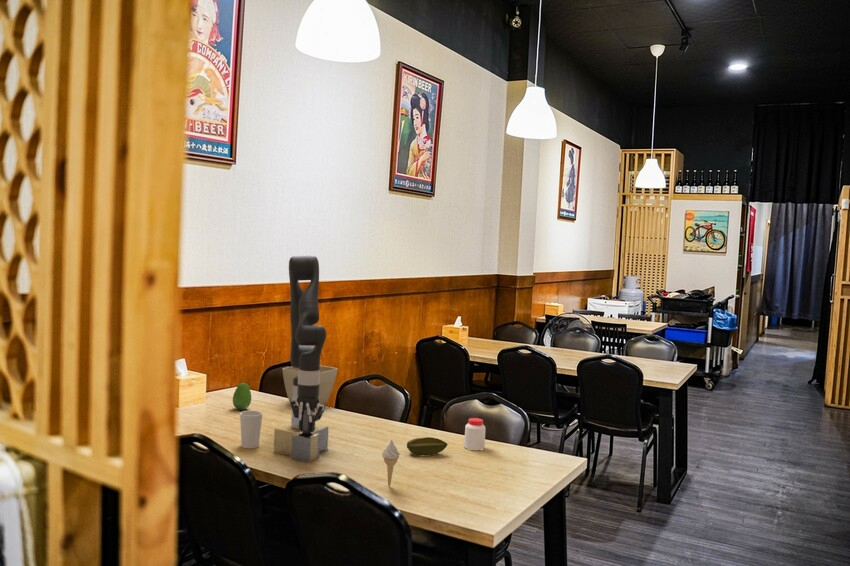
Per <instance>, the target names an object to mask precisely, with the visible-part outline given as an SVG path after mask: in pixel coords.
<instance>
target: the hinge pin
mask: <svg viewBox="0 0 850 566" xmlns="http://www.w3.org/2000/svg"><path fill="white" fill-rule="evenodd" d="M311 413H312V412H311ZM308 428H309V416H308V413H307V410H305V409H303V424H302V431H301V432H302V436H306V437H309V436H311V433H309V432H308Z"/></svg>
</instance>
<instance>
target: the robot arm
mask: <svg viewBox="0 0 850 566" xmlns="http://www.w3.org/2000/svg"><path fill="white" fill-rule="evenodd" d="M319 263H320V262H319V259H318V258H317V256H315V255H295V256H294V255H293V256H291V257H290V258H289V261H288V277H289V289H290V307H289V308H290V311H289V313H290V315H289V316H290V331H291V333H290V334H291V335H290V357H289V358H290V364H291V366H292V367H294V368H299V373H298V376H296V377H295V378H294V379H293V396H292V401H291V402H289V404H290V407H291V422H290V424H291V426H290V427H291V428H292V429H297V430H299V431H300V432H302V424H303V409H305V410H307V413H308V416H309V428H308V432H309V433H312V432H313V431H316V429H315V428H316V422H318V421H320V420H321V419H322V416H323V414H324V412H325V410H326V407H327V406H326V404H323V405H321V404H320V403H319V400H318V397H319V386H320V370H319V369H320V366H321V363H320V362H321V356H322V355H321V354H322V351H323V349H324V348H323V347H324V345H325V342H326V338H327V330H326V328H325V327H324V326H323V325H319V324H317V323H319V321H320V307H319V289H320V288H319V286H320V264H319ZM299 281H300V282H301V281H310V282H309V285H308V286H307V288H306V290H305V291H304V290H303V288H302V287H301V285H300V282H299ZM316 324H317V325H316ZM311 412H312V413H311Z"/></svg>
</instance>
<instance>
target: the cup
mask: <svg viewBox="0 0 850 566" xmlns="http://www.w3.org/2000/svg"><path fill="white" fill-rule="evenodd" d="M239 418H240V419H239V420H240V437H241V439H240V441H241V442H240V446H241V447H242V448H243V449H244V448H245V449H256V448H259V446H260V438H261V429H262V420H263V411H259V410H243V411H241V412H240V413H239Z"/></svg>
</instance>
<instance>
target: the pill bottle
mask: <svg viewBox="0 0 850 566" xmlns="http://www.w3.org/2000/svg"><path fill="white" fill-rule="evenodd" d="M464 428H465V429H464V442H463V444H464V445H463V448H464V447H465V448H467V449H472V450H481V449H484V450H485V446H486V445H485V444H486V442H485V441H486V426H485V425H484V419H481V418H478V417H470V418H468V422H467V424H465V427H464ZM465 448H464V449H465ZM467 449H466V450H467Z"/></svg>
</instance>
